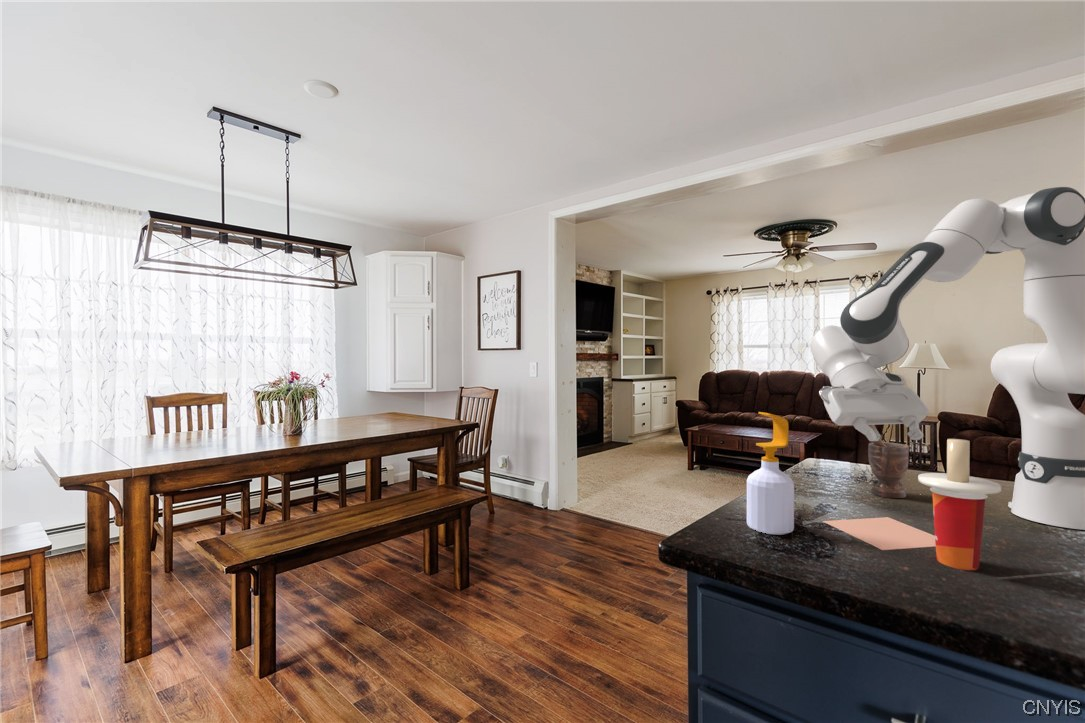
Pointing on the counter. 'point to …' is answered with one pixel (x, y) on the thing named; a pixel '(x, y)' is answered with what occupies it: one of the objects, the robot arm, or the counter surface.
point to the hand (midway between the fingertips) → (897, 438)
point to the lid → (959, 472)
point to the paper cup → (958, 527)
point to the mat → (885, 533)
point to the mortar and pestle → (888, 467)
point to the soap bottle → (771, 487)
